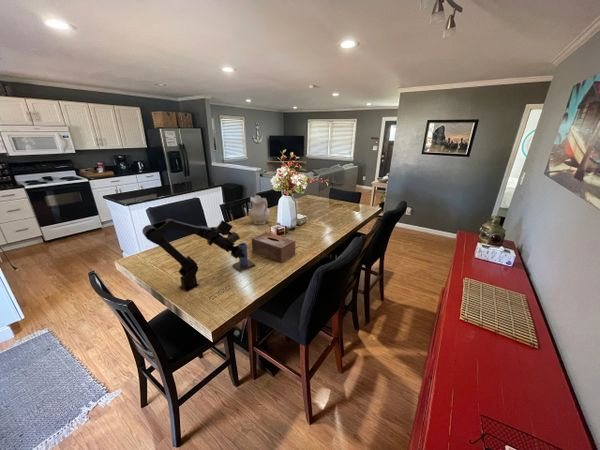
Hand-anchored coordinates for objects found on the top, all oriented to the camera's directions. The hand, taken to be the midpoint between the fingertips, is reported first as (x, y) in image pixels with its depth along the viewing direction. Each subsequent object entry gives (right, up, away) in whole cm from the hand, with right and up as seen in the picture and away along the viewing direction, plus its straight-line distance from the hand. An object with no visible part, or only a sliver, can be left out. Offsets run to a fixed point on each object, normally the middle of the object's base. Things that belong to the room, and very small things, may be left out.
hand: (240, 253), depth 141 cm
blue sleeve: (+1, -7, +3) cm, 8 cm away
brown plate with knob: (+1, -8, +4) cm, 9 cm away
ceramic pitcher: (-1, +19, +78) cm, 81 cm away
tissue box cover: (+17, -2, +20) cm, 27 cm away
